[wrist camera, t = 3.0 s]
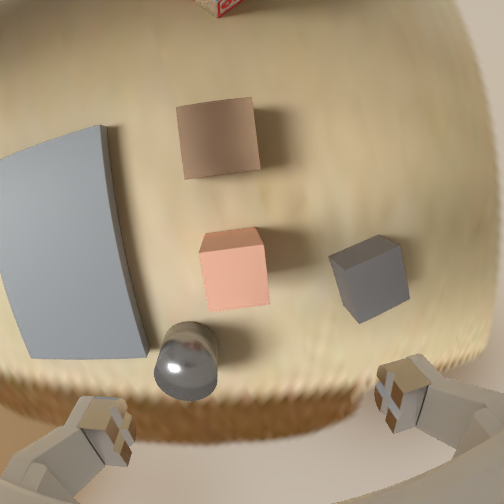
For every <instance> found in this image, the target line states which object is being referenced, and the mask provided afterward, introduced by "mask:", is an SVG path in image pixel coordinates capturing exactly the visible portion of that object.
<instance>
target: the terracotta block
mask: <svg viewBox="0 0 504 504" xmlns="http://www.w3.org/2000/svg"><path fill="white" fill-rule="evenodd" d="M199 258H200V264H201V270H202V276H203V281H204V287H205V293H206V298H207V304H208V309H209V312H214V311H222V310H230V309H237V308H245V307H252V306H260V305H267V304H270V298H269V288H268V278H267V269H266V260H265V250H264V244H263V242H262V240H261V238H260V236H259V234H258V232H257V230H256V228H255V227H252V228H244V229H236V230H229V231H221V232H214V233H206V234H205V236H204V239H203V242H202V245H201V248H200V251H199Z"/></svg>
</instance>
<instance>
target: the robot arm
mask: <svg viewBox="0 0 504 504" xmlns="http://www.w3.org/2000/svg"><path fill="white" fill-rule="evenodd" d="M377 377H378V378H379V380H380V381H379V382H378V383H377V385H376V386H375V393H374V394H375V401H376V404H377V407H378V409H379V411H380V412H382V413H384V414H386V415H387V416H386V420H385V421H386V423H387V424H388V426H389V428H390V429H391V431H392V433H393V434H395V433H398V432H401V431H404V430H407V429H410V428H413V427H416V428H418V429H420V430H421V431H423V432H425V433H427V434H429V435H431V436H432V437H434V438H436V439H438V440H440V441H442V442H444V443H446V444H447V445H449V446H451V447H453V448H455V449H457V450H456V452H455V454H454V456H453V458H452V459H451V460H450V461H448V462H446V463H444V464H442V465H440V466H438V467H436V468H434V469H431V470H429V471H427V472H425V473H423V474H420V475H418V476H416V477H413V478H411V479H408V480H406V481H403V482H401V483H398V484H395V485H393V486H390V487H387V488H384V489H381V490H378V491H376V492H372V493H369V494H366V495H363V496H359V497H356V498H353V499H349V500H345V501H341V502H337V503H333V504H504V393H500V392H497V391H493V390H489V389H486V388H482V387H479V386H475V385H472V384H469V383H465V382H461V381H459V380H455V379H452V378H446V379H445V378H444V377H443V376H442V375H441V374H440V373H439V372H438V371H437V369H436V368H435V367H434V366H433V365H432V364H431V363H430V362H429V361H428V360H427V359H426V358H425V357H424V356H423V355H422V354H416V355H413V356H410V357H407V358H404V359H401V360H398V361H394V362H391V363H388V364H384V365H380V366H379V368H378V371H377ZM127 408H128V406H127V405H126V403H125V401H124V399H122V398H112V397H96V396H95V397H92V396H82V397H80V398H79V400H78V402H77V403H76V405H75V407H74V409H73V411H72V412H71V414H70V416H69V418H68V420H67V421H66V423H65V425H64V426H59V427H58V428H56V429H55V430H53V431H51V432H50V433H49V434H47V435H45V436H43V437H42V438H40V439H39V440H37V441H35V442H33V443H32V444H30V445H28V446H27V447H26V448H23V449H22V450H20V451H19V452H17V453H15V454H14V455H13V456H12V458H11V459H10V461H9V463H8V465H7V466H6V468H5V470H4V472H3V474H2V475H1V477H0V504H80V503H79V502H77V500H76V499H75V498H74V496H75V495H76V494H77V493H78V492H79V491H80V490H81V489H82V488H83V487H84V486H85V485H87V484H88V483H89V482H90V481H91V480H92V479H93V478H94V477H95V476H96V475H97V474H98V473H99V472H100V471H101V470H102V469H103V468H104V467H105V465H110V466H111V465H112V466H123V467H128V464H129V461H130V457H131V454H132V452H131V450H130V448H129V446H131V445H132V444H133V443H135V439H136V425H135V421H134V419H133V417H132V416H131V415H130V414H128V413H127V412H126V410H127Z"/></svg>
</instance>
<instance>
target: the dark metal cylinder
mask: <svg viewBox="0 0 504 504" xmlns="http://www.w3.org/2000/svg"><path fill="white" fill-rule="evenodd" d="M217 370H218V341H217V338H216V336H215V335H214V333H213V332H212V331H211V330H210V329H209V328H208V327H206V326H204V325H202V324H200V323H197V322H190V321H188V322H181V323H178V324H176V325H174V326H172V327H171V328H170V329H169V330H168V332H167V333H166V335H165V338H164V341H163V344H162V347H161V350H160V353H159V356H158V359H157V363H156V366H155V369H154V377H155V381H156V383H157V385H158V386H159V387H160V389H161V390H162V391H163V392H165V393H166V394H168V395H169V396H171V397H173V398H176V399H179V400H184V401H195V400H200V399H203V398H205V397H207V396H208V395H210V394H211V393H212V392H213V391H214V389H215V387H216V385H217Z"/></svg>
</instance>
